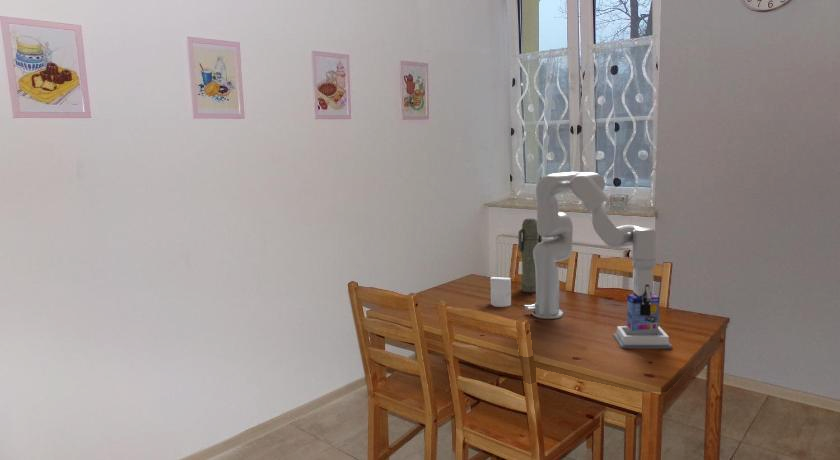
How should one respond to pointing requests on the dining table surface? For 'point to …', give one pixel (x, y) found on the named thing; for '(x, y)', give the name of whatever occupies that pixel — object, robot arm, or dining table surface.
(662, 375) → the dining table surface
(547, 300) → the robot arm
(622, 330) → the socket stand
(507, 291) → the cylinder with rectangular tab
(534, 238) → the thermos
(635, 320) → the ink cartridge box
